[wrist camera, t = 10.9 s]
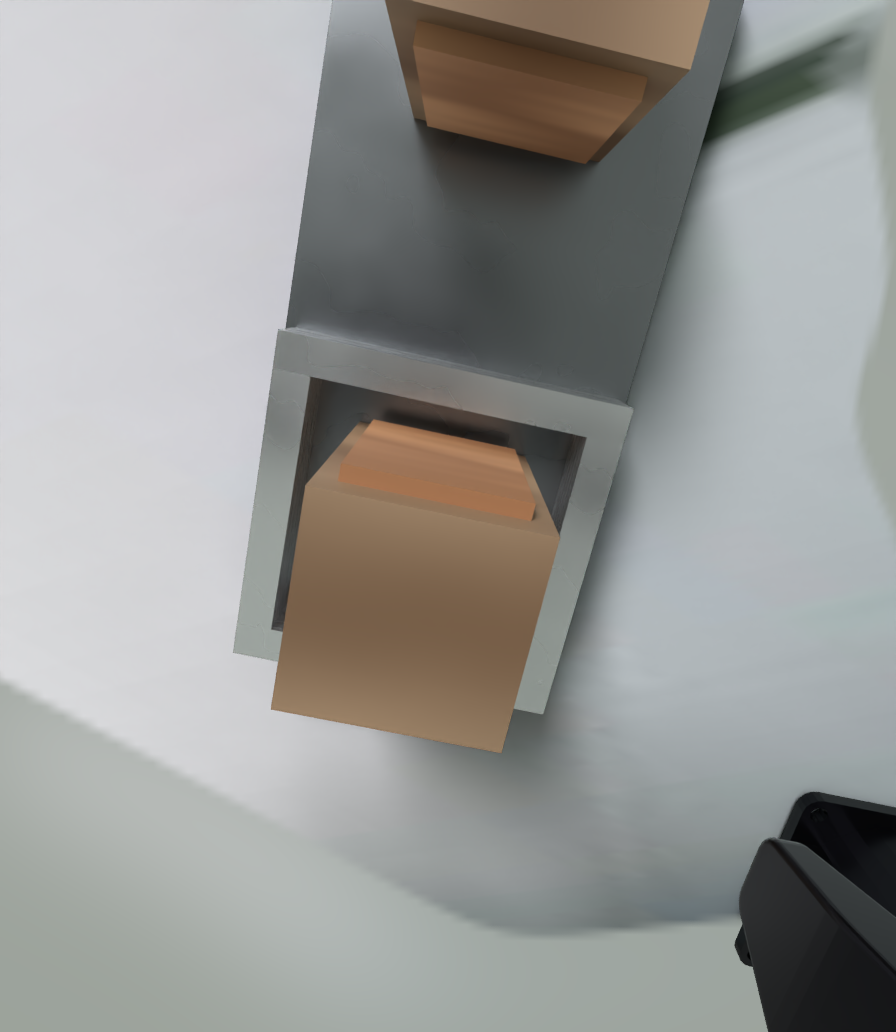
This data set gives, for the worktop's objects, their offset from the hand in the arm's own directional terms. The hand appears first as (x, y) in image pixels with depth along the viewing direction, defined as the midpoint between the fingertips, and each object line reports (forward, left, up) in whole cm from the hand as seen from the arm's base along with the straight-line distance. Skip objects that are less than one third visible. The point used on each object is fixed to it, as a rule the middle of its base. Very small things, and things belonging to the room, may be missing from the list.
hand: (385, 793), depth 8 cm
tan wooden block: (0, 0, -10) cm, 10 cm away
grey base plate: (0, -5, -11) cm, 12 cm away
